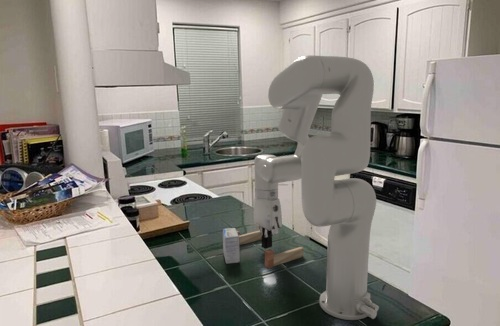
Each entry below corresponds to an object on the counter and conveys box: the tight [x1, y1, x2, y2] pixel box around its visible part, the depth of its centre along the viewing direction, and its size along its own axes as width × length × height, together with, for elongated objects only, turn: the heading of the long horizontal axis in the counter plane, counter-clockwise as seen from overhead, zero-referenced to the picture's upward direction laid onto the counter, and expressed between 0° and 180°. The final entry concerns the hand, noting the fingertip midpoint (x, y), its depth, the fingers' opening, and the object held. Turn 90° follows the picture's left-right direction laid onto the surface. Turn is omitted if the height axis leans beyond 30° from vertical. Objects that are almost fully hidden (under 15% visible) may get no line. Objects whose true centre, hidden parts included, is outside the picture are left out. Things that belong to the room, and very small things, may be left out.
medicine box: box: [222, 227, 241, 264], centre depth 116 cm, size 8×4×9 cm, turn 10°
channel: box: [236, 229, 304, 270], centre depth 121 cm, size 21×14×5 cm, turn 34°
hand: (266, 247), depth 121 cm, fingers closed
